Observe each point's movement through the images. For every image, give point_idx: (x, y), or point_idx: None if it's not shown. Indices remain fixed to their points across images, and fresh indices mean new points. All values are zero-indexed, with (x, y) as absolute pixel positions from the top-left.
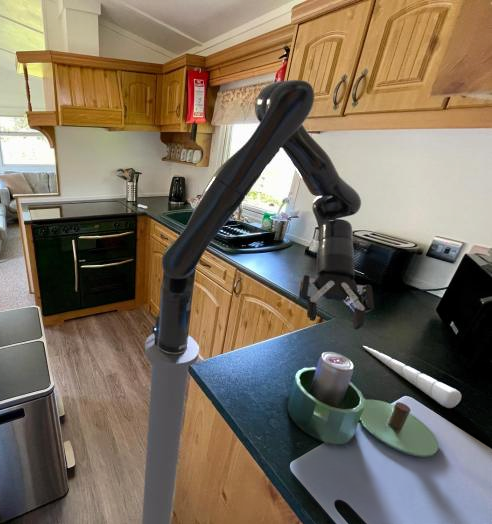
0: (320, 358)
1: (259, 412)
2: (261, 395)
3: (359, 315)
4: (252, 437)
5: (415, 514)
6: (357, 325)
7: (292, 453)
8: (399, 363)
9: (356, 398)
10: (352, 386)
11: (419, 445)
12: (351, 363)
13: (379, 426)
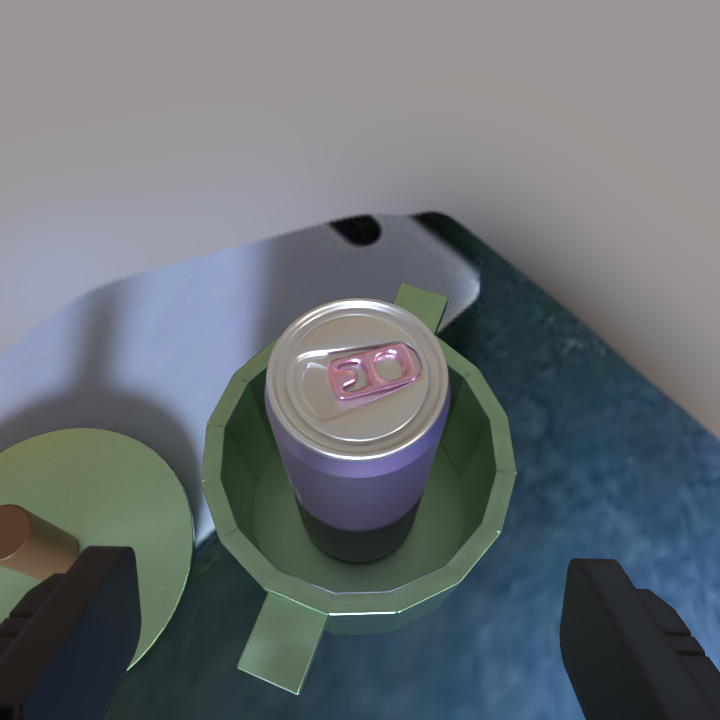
0: (447, 398)
1: (584, 449)
2: (590, 552)
3: (27, 643)
4: (591, 337)
5: (193, 267)
6: (123, 546)
7: (469, 325)
8: None
9: (228, 464)
10: (227, 506)
11: (26, 473)
12: (273, 378)
13: (131, 518)
